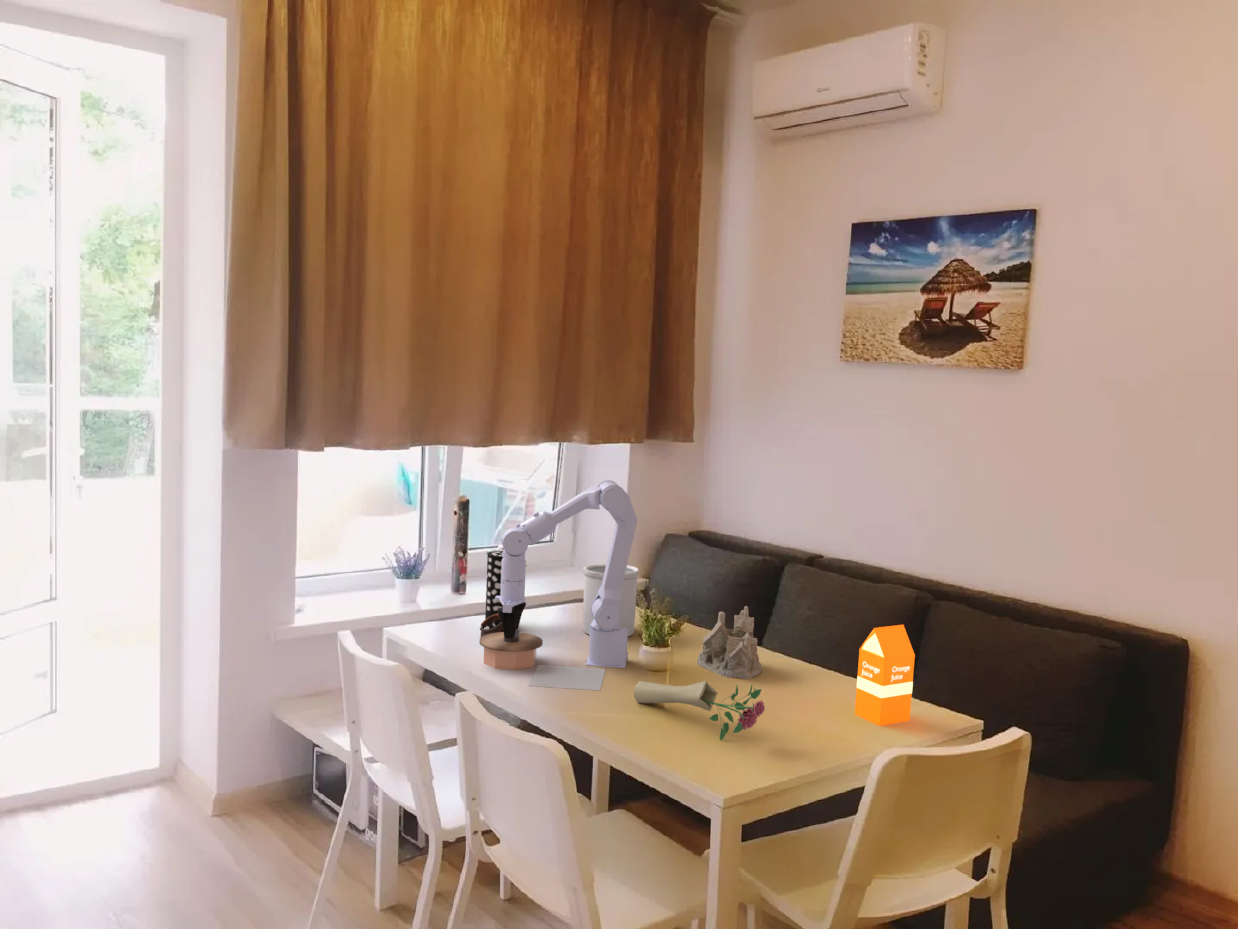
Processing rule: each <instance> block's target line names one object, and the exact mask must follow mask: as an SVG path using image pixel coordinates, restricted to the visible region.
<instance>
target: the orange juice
mask: <svg viewBox="0 0 1238 929" xmlns="http://www.w3.org/2000/svg"><path fill="white" fill-rule="evenodd" d="M858 651H859V652H858V653H859V654H858V667H857V677H856V693H855V704H854V705H855V706H854V707H855V708H854V715H855V716H857V717H859V718H861V719H864V720H866V721H868V722H870V723H872V724H874V725H876V726H879V727H880V726H881V727H882V726H887V725H893V724H898V723H903V722H904V723H905V722H909V721H911V718H910V717H911V708H912V706H911V705H912V696H913V695H912V694H913V687H914V668H915V658H916V654H915V652H914V649H913V647H912V644H911V641H910V638H909V636H908V633H907V631H906V628H905V624H897V625H889V626H888V625H887V626H879V627H874V628H873V629H872V631H871V632H870V633H869V635H868V636H867V638H866V639H865V640H864V642H863V643H862V645H861V646H860V648H859V650H858Z"/></svg>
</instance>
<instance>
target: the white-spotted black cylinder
mask: <svg viewBox="0 0 1238 929" xmlns="http://www.w3.org/2000/svg"><path fill="white" fill-rule="evenodd" d="M502 553H503V550H494V551H489V552H487V559H486V561H487V562H486V588H485V589H486V590H485V591H486V592H485V615H484V620H485V619H487V618H488V617H490V616H492V615H494V614H498V608H503V606H502V603H501V602H500V601H499V600H495V597H496V596H500V594H501V565H502V559H503V557H502ZM493 627H495V624H494V620H493V622H491V623H490V624H488V625H487V626H486V627H485V629H491V628H493Z"/></svg>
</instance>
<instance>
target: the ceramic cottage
mask: <svg viewBox="0 0 1238 929" xmlns="http://www.w3.org/2000/svg"><path fill="white" fill-rule="evenodd" d="M749 613H750V612H749V607H748V606H747V605H745V606H744V608H743V609H742V610H740V613H739V614H738V615H737V614H734V621H733V629H732V628H731V629H730V628H729V629H728V628H727V627H726V626H725V625H726V624H725V623H726V613H725V612H724V611H719V612H718V617H717V622H716V624H715V625H714V627H713V628H712V629H711V630H710V631H709V632H708V633H707V634H706V635H704V636H703V640H702V651H700V653H698V658H697V665H699V666H701V667H702V668H704V669H707V670H709V671H711V672H713V673H715V674H717V675H719V676H722V677H725V678H734V679H735V678H738V679H743V680H747V679H748V680H749V679H753V678H754V677H757V676H758V675H760V673H761V672H762V663H761V662H760V657H759V654H758V638H757V637H754V628H755V617H753V616H752V617H751V616H749Z"/></svg>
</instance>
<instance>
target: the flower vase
mask: <svg viewBox="0 0 1238 929" xmlns="http://www.w3.org/2000/svg"><path fill="white" fill-rule="evenodd" d="M752 690H753V684H751V685H750V689H749V692H748V694H747V695H745V696H743V697H741V698H739V699H738V700H735V699H736V697H737V696H738V694H739V688H738V684H736V685H735V693H734V692H733V693H732V694H731V695H730V696H728V697H726V698H724V699H723V700H722V701H721V703H716V702H715V701H716V699H717V696H718V693H719V692H718V691H717V690H716V689H715V688H714V687H713V686H712V685H711V684H710V683H709V682H708V681H706V680H704V681H698V682H695V683H693V684H688V685H672V684H662V683H657V682H656V683H655V682H649V681H645V680H641V681H638V682H637V683H636V684H635V686H634V689H633V697H634V699H635V702H637V703H638V704H643V705H645V704H672V703H673V704H675V703H676V704H686V705H690V706H695V707H698V708H700V709H703V710H706V711H707V712H711V710H712V708H713V705H714V706H717V707H718V708H717V711H718V713H715V714H713V715H711V716H710V717H709V718H708V719H709V720H710V721H712V722H718V721H719V719H720V721H721V722H723V725H722V723H720V725H721V728H720V731H719V732H720V733H719V741H720V740H721V741H722V740H723V739H724V738H725V737H726V734H727V733H728V732H729V730H730V724H729V722H731V723H732V724H734V717H733V715H732V713H731V712H730V711H733V712H735V713H737V714H738V716H739V718H737V721H738V722H736V726H735V727H734V728H733V731H732V734H735V733H736V734H737V733H740V732H741V731H742V730H744V731H746V730H749V729H750V728H753V727H754V725H755V724H756V723H757V719H758V717H760V716H761V715H763V714H764V712H765V708H766V707H765V703H764V700H762V699H761V700H759V701H757V702H755V703H752V706H746V705H747V704H748V702H749V701H750V700H751V699H753V700H755V699H757V698H758V697H759V696H760V695H761V692H762V688H760V689H756V688H754V690H753V691H752ZM748 696H749V697H748ZM744 697H748V698H747V699H746V700H744V701H743V702H739V701H740V700H741V699H743V698H744ZM729 698H730V700H731V701H732V702H733V701H734V702H733V703H730V704H726V703H723V702H724V701H725V700H727V699H729ZM721 707H722V708H725V709H728V710H730V711H724V710H723V709H721ZM734 708H735V709H734ZM719 709H721V711H723V712H724V714H723V715H724V716H725V717H726V719H728V720H729V722H727V721H726V722H724V721H723V718H722V716H721V713H720V710H719ZM740 711H742V712H740ZM718 714H719V715H718Z"/></svg>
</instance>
